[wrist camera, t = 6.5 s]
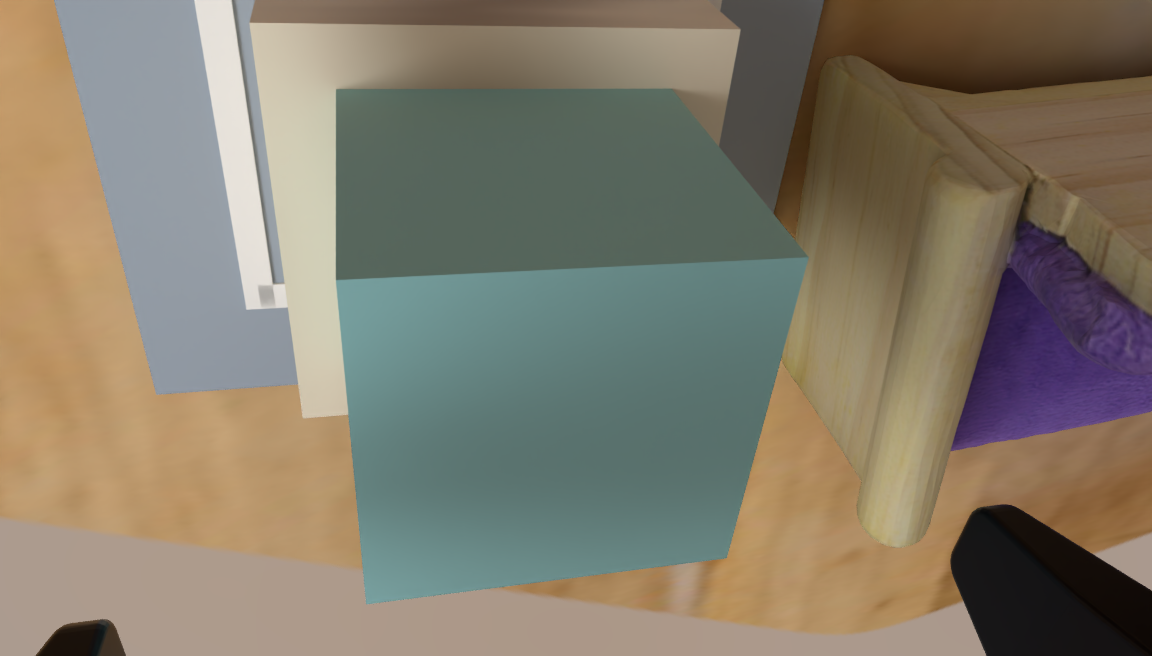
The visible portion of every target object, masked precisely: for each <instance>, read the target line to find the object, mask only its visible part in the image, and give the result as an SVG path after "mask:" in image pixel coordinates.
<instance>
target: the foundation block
mask: <svg viewBox="0 0 1152 656" xmlns="http://www.w3.org/2000/svg"><path fill="white" fill-rule="evenodd" d="M249 24H250V32H251V39H252V47H253V54H254V61H255V69H256V76H257V84H258V91H259V98H260V106H261V113H262V120H263V128H264V135H265V143H266V150H267V157H268V165H269V172H270V179H271V187H272V194H273V202H274V209H275V216H276V224H277V231H278V238H279V246H280V253H281V261H282V268H283V275H284V283H285V290H286V297H287V305H288V312H289V320H290V327H291V334H292V342H293V349H294V356H295V364H296V371H297V379H298V386H299V393H300V401H301V408H302V415H303V418H313V417H325V416H337V415H348V405H347V394H346V384H345V373H344V362H343V352H342V341H341V331H340V320H339V309H338V299H337V288H336V89H672V90H673V91H674V92H675V93H676V95H677V96H678V97H679V98H680V99H681V101H682V102H683V103H684V104H685V106H686V107H687V108H688V109H689V111H690V112H691V113H692V114H693V115H694V117H695V118H696V119H697V120H698V122H699V123H700V124H701V125H702V127H703V128H704V129H705V130H706V131H707V133H708V134H709V135H710V136H711V138H712V139H713V140H714V141H715V143H716V144H717V145H718V146H719V143H720V138H721V132H722V127H723V122H724V116H725V111H726V106H727V100H728V95H729V90H730V84H731V79H732V74H733V68H734V63H735V58H736V52H737V47H738V42H739V36H740V31H741V29H740V28H739V27H737V26H736V25H735V24H734V23H733V22H732V21H731V20H729V19H728V18H727V17H726V16H725V15H724V14H723V13H721V12H720V11H719V10H718V9H717V8H716V7H715V6H713V5H712V4H711V3H710V2H709V1H708V0H255V2H254V6H253V10H252V14H251V18H250V22H249Z"/></svg>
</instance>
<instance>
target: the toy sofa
mask: <svg viewBox="0 0 1152 656" xmlns="http://www.w3.org/2000/svg"><path fill="white" fill-rule="evenodd" d="M795 241H796V242H797V243H798V245H799V246H800V247H801V248H802V250H803V251H804V252H805V253H806V254H807V256H808V257H809V259H808V262H807V266H806V270H805V273H804V277H803V281H802V284H801V288H800V292H799V295H798V299H797V303H796V306H795V310H794V313H793V317H792V321H791V324H790V328H789V332H788V335H787V339H786V343H785V346H784V350H783V354H782V361H783V364H784V365H785V367H786V369H787V370H788V372H789V373H790V375H791V376H792V378H793V379H794V381H795V382H796V383H797V385H798V386H799V387H800V389H801V390H802V392H803V393H804V394H805V396H806V397H807V399H808V400H809V402H810V403H811V405H812V406H813V408H814V409H815V411H816V412H817V414H818V415H819V417H820V418H821V420H822V421H823V423H824V424H825V426H826V427H827V429H828V430H829V432H830V433H831V435H832V436H833V438H834V439H835V441H836V442H837V444H838V445H839V447H840V448H841V450H842V451H843V453H844V455H845V456H846V458H847V459H848V461H849V463H850V464H851V466H852V467H853V469H854V470H855V472H856V474H857V475H858V477H859V478H860V480H861V481H862V482H861V487H860V491H859V496H858V501H857V515H858V518H859V521H860V524H861V525H862V527H863V529H864V530H865V531H866V532H867V533H868V534H869V535H870V536H871V537H872V538H873V539H875V540H876V541H878V542H880V543H881V544H883V545H886V546H890V547H894V548H902V547H906V546H909V545H913V544H915V543H917V542H919V541H920V540H921V539H922V538H923V536H924V535H925V534H926V531H927V529H928V527H929V524H930V521H931V517H932V514H933V510H934V507H935V504H936V500H937V497H938V493H939V490H940V486H941V483H942V479H943V475H944V472H945V468H946V465H947V461H948V458H949V454H950V451H954V450H960V449H964V448H968V447H977V446H980V445H984V444H987V443H991V442H1000V441H1006V440H1015V439H1020V438H1025V437H1029V436H1033V435H1039V434H1047V433H1053V432H1057V431H1061V430H1066V429H1071V428H1076V427H1081V426H1086V425H1092V424H1097V423H1102V422H1107V421H1111V420H1116V419H1120V418H1124V417H1129V416H1134V415H1139V414H1143V413H1147V412H1150V411H1152V76H1147V77H1137V78H1128V79H1118V80H1109V81H1099V82H1088V83H1075V84H1065V85H1056V86H1047V87H1037V88H1028V89H1021V90H1004V91H995V92H987V93H979V94H966V93H960V92H955V91H949V90H944V89H938V88H933V87H928V86H922V85H917V84H912V83H907V82H901V81H898V80H896V79H895V78H894V77H892V76H891V75H889V74H888V73H886V72H885V71H883V70H882V69H880V68H878V67H877V66H875V65H873V64H872V63H870V62H868V61H866V60H864V59H862V58H860V57H859V56H853V55H847V56H837V57H832V58H829V59H827V60H826V62H825V64H824V65H823V67H822V69H821V72H820V77H819V84H818V90H817V97H816V104H815V111H814V118H813V124H812V131H811V138H810V144H809V151H808V157H807V164H806V171H805V177H804V184H803V190H802V197H801V204H800V210H799V217H798V224H797V231H796V238H795Z"/></svg>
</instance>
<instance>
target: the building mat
mask: <svg viewBox="0 0 1152 656" xmlns="http://www.w3.org/2000/svg"><path fill="white" fill-rule="evenodd" d="M708 1H709V2H710V3H711V4H712V5H713V6H715V7H716V8H717V9H718V10H719V11H720V12H721V13H723V14H724V15H725V16H726V17H727V18H728V19H729V20H731V21H732V22H733V23H734V24H735V25H736V26H737V27H739V28H740V29H741V31H740V36H739V42H738V47H737V52H736V58H735V63H734V68H733V74H732V79H731V84H730V90H729V95H728V100H727V106H726V111H725V116H724V122H723V127H722V132H721V138H720V143H719V147H720V149H721V150H722V151H723V152H724V154H725V155H726V156H727V157H728V159H729V160H730V161H731V162H732V163H733V165H734V166H735V167H736V168H737V170H738V171H739V172H740V173H741V175H742V176H743V177H744V178H745V179H746V181H747V182H748V183H749V184H750V186H751V187H752V188H753V189H754V190H755V192H756V193H757V194H758V195H759V197H760V198H761V199H762V200H763V202H764V203H765V204H766V205H767V206H768V208H769V209H770V210H771V211H772V213H773V214H774V209H775V205H776V201H777V197H778V193H779V188H780V184H781V180H782V176H783V172H784V167H785V163H786V159H787V155H788V150H789V146H790V142H791V138H792V134H793V129H794V125H795V121H796V117H797V113H798V108H799V104H800V100H801V96H802V92H803V87H804V83H805V79H806V75H807V70H808V66H809V62H810V58H811V54H812V49H813V45H814V41H815V37H816V33H817V28H818V24H819V20H820V16H821V12H822V7H823V3H824V0H708ZM54 2H55V6H56V10H57V13H58V17H59V21H60V25H61V29H62V33H63V37H64V40H65V44H66V48H67V52H68V56H69V60H70V64H71V67H72V71H73V75H74V79H75V83H76V87H77V90H78V94H79V98H80V102H81V106H82V110H83V114H84V117H85V121H86V125H87V129H88V133H89V137H90V141H91V144H92V148H93V152H94V156H95V160H96V164H97V168H98V171H99V175H100V179H101V183H102V187H103V191H104V194H105V198H106V202H107V206H108V210H109V214H110V218H111V221H112V225H113V229H114V233H115V237H116V241H117V245H118V248H119V252H120V256H121V260H122V264H123V268H124V272H125V275H126V279H127V283H128V287H129V291H130V295H131V298H132V302H133V306H134V310H135V314H136V318H137V322H138V325H139V329H140V333H141V337H142V341H143V345H144V349H145V352H146V356H147V360H148V364H149V368H150V372H151V376H152V379H153V383H154V387H155V391H156V395H158V394H172V393H186V392H199V391H213V390H227V389H240V388H254V387H267V386H281V385H295V384H298V379H297V371H296V364H295V356H294V349H293V342H292V334H291V327H290V320H289V312H288V305H287V297H286V290H285V283H284V275H283V268H282V261H281V253H280V246H279V238H278V231H277V224H276V216H275V209H274V202H273V194H272V187H271V179H270V172H269V165H268V157H267V150H266V143H265V135H264V128H263V120H262V113H261V106H260V98H259V91H258V84H257V76H256V69H255V61H254V54H253V47H252V39H251V32H250V24H249V22H250V18H251V14H252V10H253V6H254V2H255V0H54Z"/></svg>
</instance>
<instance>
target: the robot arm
mask: <svg viewBox="0 0 1152 656" xmlns="http://www.w3.org/2000/svg"><path fill="white" fill-rule="evenodd" d="M950 562H951V570H952V574H953V577H954V580H955V582H956V584H957V587H958V589H959V592H960V594H961V596H962V599H963V601H964V603H965V606H966V608H967V611H968V613H969V615H970V618H971V620H972V622H973V625H974V627H975V629H976V632H977V634H978V637H979V639H980V641H981V644H982V646H983V649H984V651H985V653H986V656H1152V591H1151V590H1150V589H1148V588H1147V587H1145V586H1143V585H1142V584H1140V583H1138V582H1137V581H1135V580H1133V579H1132V578H1130V577H1128V576H1127V575H1126V574H1124V573H1122V572H1121V571H1119V570H1117V569H1116V568H1114V567H1113V566H1111V565H1109V564H1108V563H1106V562H1104V561H1103V560H1101V559H1100V558H1098V557H1096V556H1095V555H1093V554H1092V553H1090V552H1088V551H1087V550H1085V549H1084V548H1082V547H1080V546H1079V545H1077V544H1075V543H1074V542H1072V541H1071V540H1069V539H1067V538H1066V537H1064V536H1063V535H1061V534H1059V533H1058V532H1056V531H1054V530H1053V529H1051V528H1050V527H1048V526H1046V525H1045V524H1043V523H1042V522H1040V521H1038V520H1037V519H1035V518H1033V517H1032V516H1030V515H1029V514H1027V513H1025V512H1024V511H1022V510H1020V509H1019V508H1017V507H1015V506H1012V505H994V506H987V507H980V508H977V509H976V510H974V511H973V512H972V513H971V515H970V517H969V519H968V521H967V523H966V525H965V527H964V529H963V531H962V533H961V535H960V537H959V539H958V541H957V543H956V545H955V547H954V549H953V551H952V554H951V560H950ZM36 656H126V654H125V652H124V649H123V646H122V644H121V641H120V638H119V635H118V633H117V630H116V628H115V626H114V624H113V623H112V622H111V621H109V620H106V619H101V620H93V621H85V622H78V623H70V624H66V625H64V626H62V627H61V628H59V629H58V630H56V631H55V632H54V634H53V635H52V636H51V637H50V638H49V639H48V641H47V642H46V643H45V644H44V646H43V647H42V648H41V649H40V651H39V652H38V653H37V654H36Z"/></svg>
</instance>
